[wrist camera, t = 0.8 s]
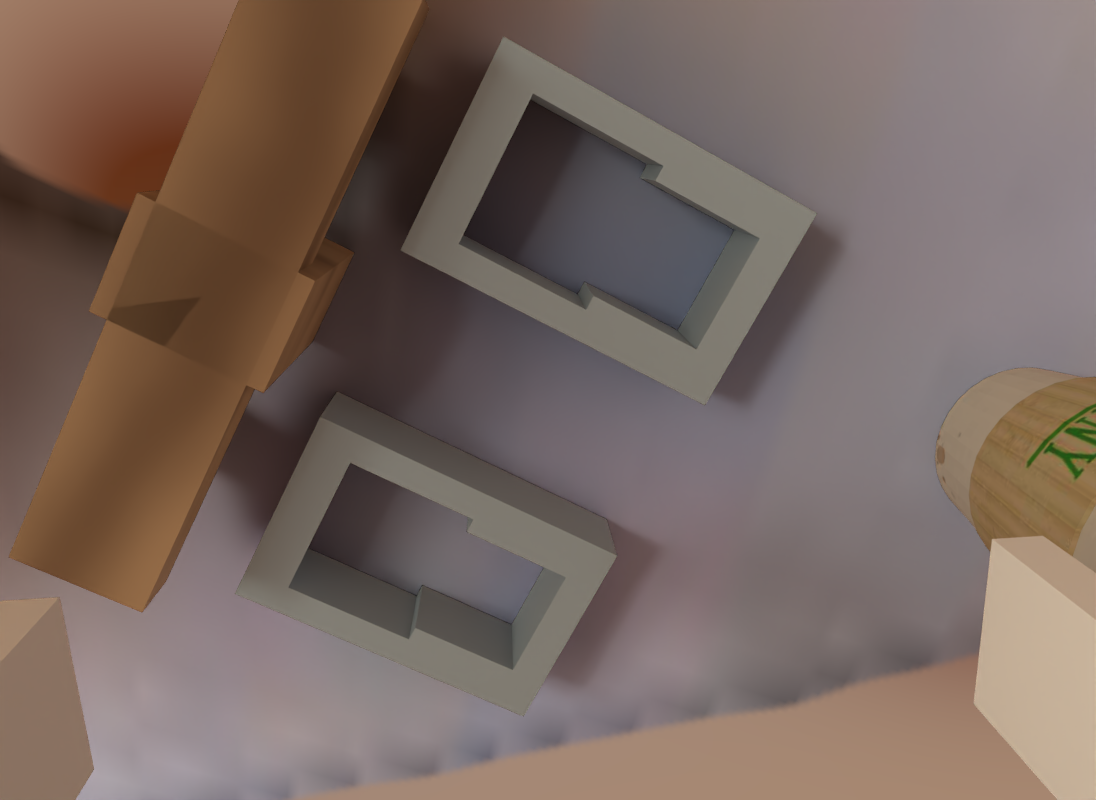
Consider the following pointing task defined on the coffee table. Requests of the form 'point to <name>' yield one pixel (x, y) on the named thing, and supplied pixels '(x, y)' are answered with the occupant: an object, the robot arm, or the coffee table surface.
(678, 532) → the coffee table surface
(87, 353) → the coffee table surface
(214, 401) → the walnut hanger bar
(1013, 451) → the coffee cup
